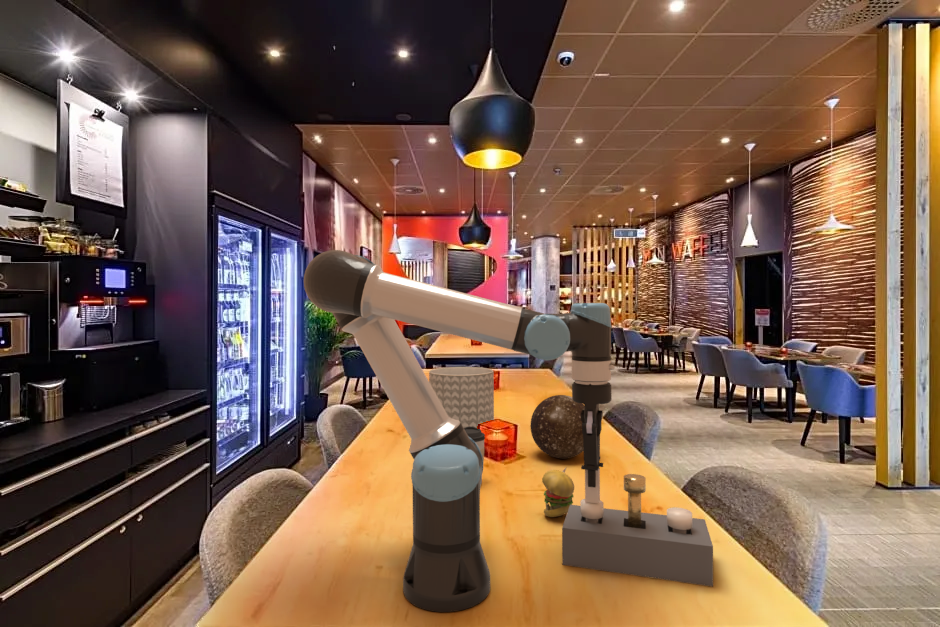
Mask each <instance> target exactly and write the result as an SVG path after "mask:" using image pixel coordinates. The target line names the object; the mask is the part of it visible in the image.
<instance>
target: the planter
mask: <svg viewBox="0 0 940 627" xmlns="http://www.w3.org/2000/svg"><path fill="white" fill-rule="evenodd" d="M428 375H429V376H428V381H429V383H430V384H431V386H432V388H433V390H434V392H435V393H436V395H437V397H438V399H439V400H440V402H441V404H442V406H443V408H444V409H445V411H446V413H447V415H448V417H450V418H452V419H455V420H459V421H460V423H461V424H462V426H463V428H466V427H468V426H471V427H475V428H477V426H478V424H480V423H483V422H486V421H490V420H494V421H495V406H494V405H495V399H494V398H495V393H494V392H495V391H494V390H495V388H494V386H495V385H494V380H495V379H494V375H495V374H494V370H493V369H492V368H487V367H475V366H473V367H472V366H453V367H449V366H448V367H438V368H434V369H430V370H429V372H428Z"/></svg>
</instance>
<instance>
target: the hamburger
mask: <svg viewBox="0 0 940 627" xmlns="http://www.w3.org/2000/svg"><path fill="white" fill-rule="evenodd" d="M567 468H568V467H567V466H566V467H565V468H564V469H563V470H560V469H559V470H558V469H550V470H548V471H546V472H545V473H544V474H543V477H542V478H541V479H542V481H541V483H542V484H543V485H544V487H545V490H544V493H543V496H544V500H543V501H544V503H545V509H543V513H544V515H545V516H546V517H548V518H556V517H557V518H558V517H561V516H564V515H565V514H566V515H567V512H568V510H569V507H570V505H573V504H574V501H573V499H574V491H575V483H574V480H573V479H572V478H571V477H570V476H569V475H568V474H567V473H566V470H567Z"/></svg>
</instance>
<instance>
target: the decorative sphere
mask: <svg viewBox="0 0 940 627" xmlns="http://www.w3.org/2000/svg"><path fill="white" fill-rule="evenodd" d="M584 407H585V405H584V404H583V403H577V402H575V401H573V399H572V396H570V395H565V394H556V395H552V396H549V397H547V398H545V399H544V400H542V401H541V402H539V403H538V404H537V406H536V407H535V409H534V411H533V412H532V415H531V418H530V426H529V427H530V432H531V437H532V439H533V441H534V443H535V445H536V446H537V448H539V449H540V450H541V452H543V453H545V454H546V455H548V456H549V457H553V458H557V459H571V458H575V457H577V456H578V455H580V454H582V453H584V447H583V434H582V421H581V412H582V409H583V410H584Z"/></svg>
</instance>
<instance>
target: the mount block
mask: <svg viewBox="0 0 940 627" xmlns="http://www.w3.org/2000/svg"><path fill="white" fill-rule="evenodd" d="M603 510H604V516H603V517H602V518H600V519H598V523H590V522H586V518H585V517H583V516H581V505H577V504H572V505H570V507H569V510H568V512H567V513H566V516H565V519H564V520H563V521H564V522H563V525H562V527H561V533H562V534H561V536H562V537H561V554H562V556H561V558H562V559H561V560H562V562H561V563H562V565H563V566H569V567H576V568H577V567H578V568H582V569H590V570H597V571H605V572H611V573H617V574H625V575H629V576H630V575H632V576H637V577H644V578H651V579H659V580H665V581H671V582H672V581H673V582H680V583H685V584H694V585H699V586H700V585H701V586H705V587H706V586H707V587H713V586H714V545H713V543H712V542H713V541H712V539H711V536H710V532H709V528H708V526H707V523H706V519H704V518H697V517H692V528H691V529H688V530H686V534H683V533H674V532H673V528H672V527H670V526H668V525H667V514H659V513H651V512H650V513H649V512H642V511H641V528H632V527H628V510H622V509H616V508H615V509H613V508H605V507H603Z"/></svg>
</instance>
